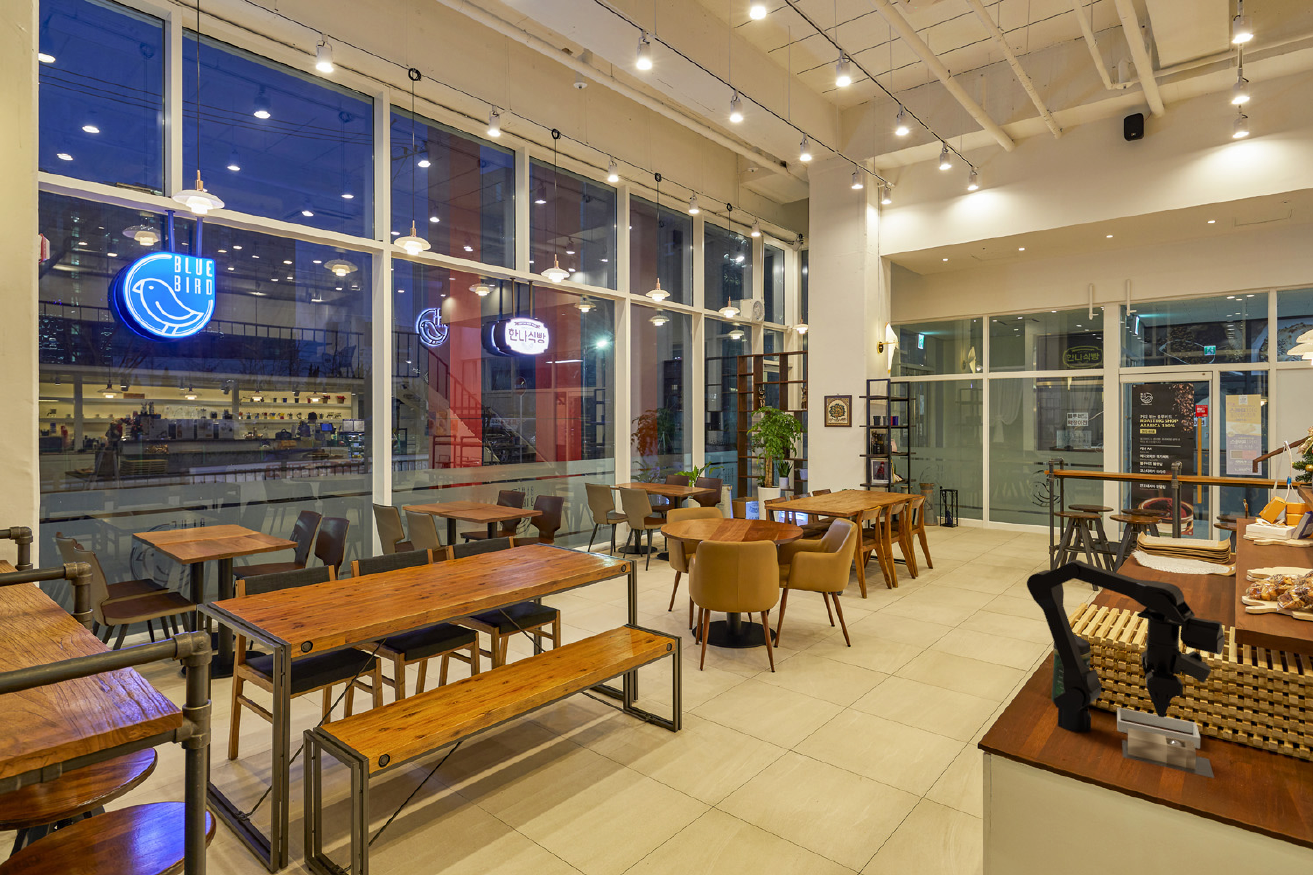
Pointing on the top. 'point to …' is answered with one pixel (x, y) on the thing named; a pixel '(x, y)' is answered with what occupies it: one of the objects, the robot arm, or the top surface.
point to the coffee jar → (1058, 667)
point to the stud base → (1200, 767)
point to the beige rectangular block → (1161, 748)
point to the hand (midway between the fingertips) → (1159, 708)
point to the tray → (1157, 721)
